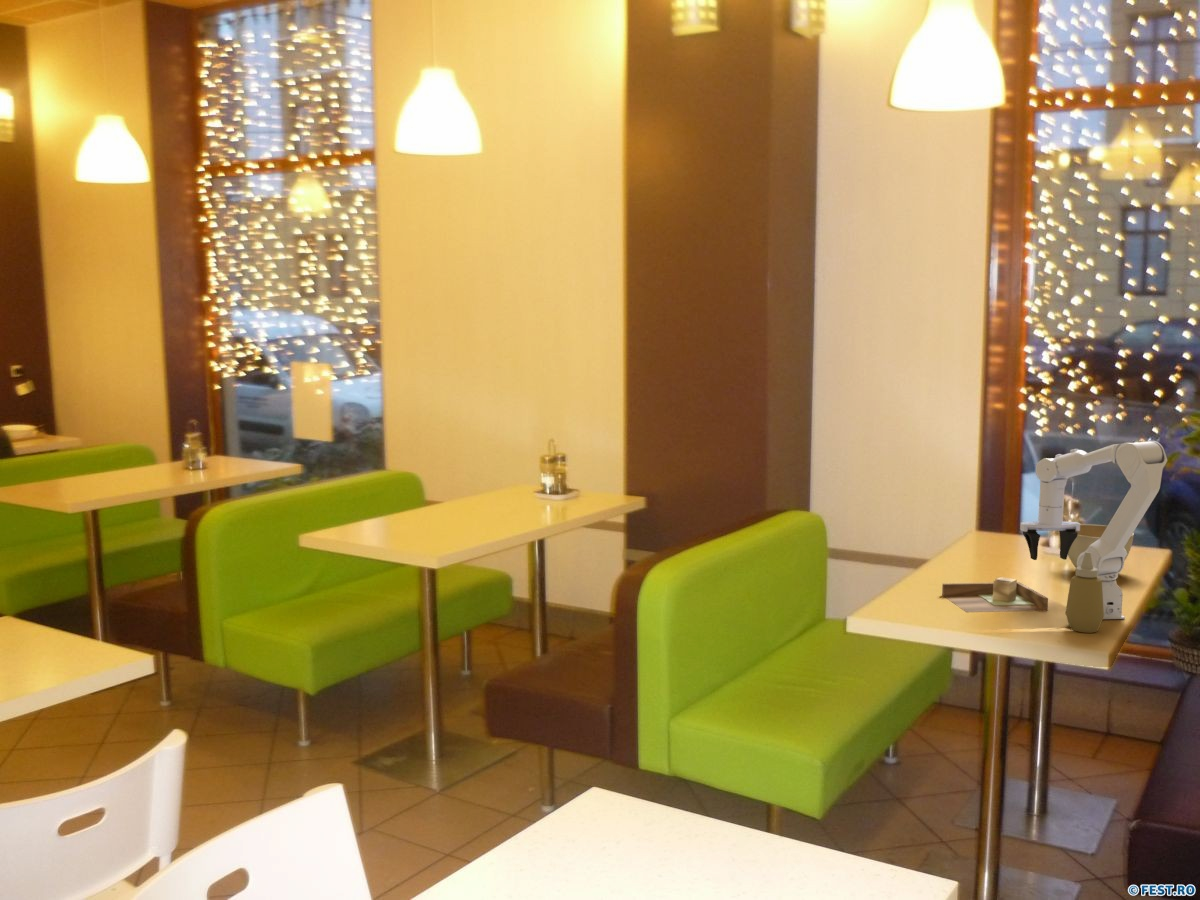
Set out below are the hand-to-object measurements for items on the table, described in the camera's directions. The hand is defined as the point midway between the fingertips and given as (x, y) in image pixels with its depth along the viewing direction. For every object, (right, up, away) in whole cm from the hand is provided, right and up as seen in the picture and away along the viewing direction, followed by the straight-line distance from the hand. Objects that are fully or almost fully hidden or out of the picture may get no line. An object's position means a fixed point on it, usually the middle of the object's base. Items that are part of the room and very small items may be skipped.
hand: (1048, 558), depth 284 cm
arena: (-16, -11, -5) cm, 20 cm away
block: (-12, -10, -3) cm, 16 cm away
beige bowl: (+24, -7, +29) cm, 38 cm away
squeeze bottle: (-2, -14, -26) cm, 29 cm away
